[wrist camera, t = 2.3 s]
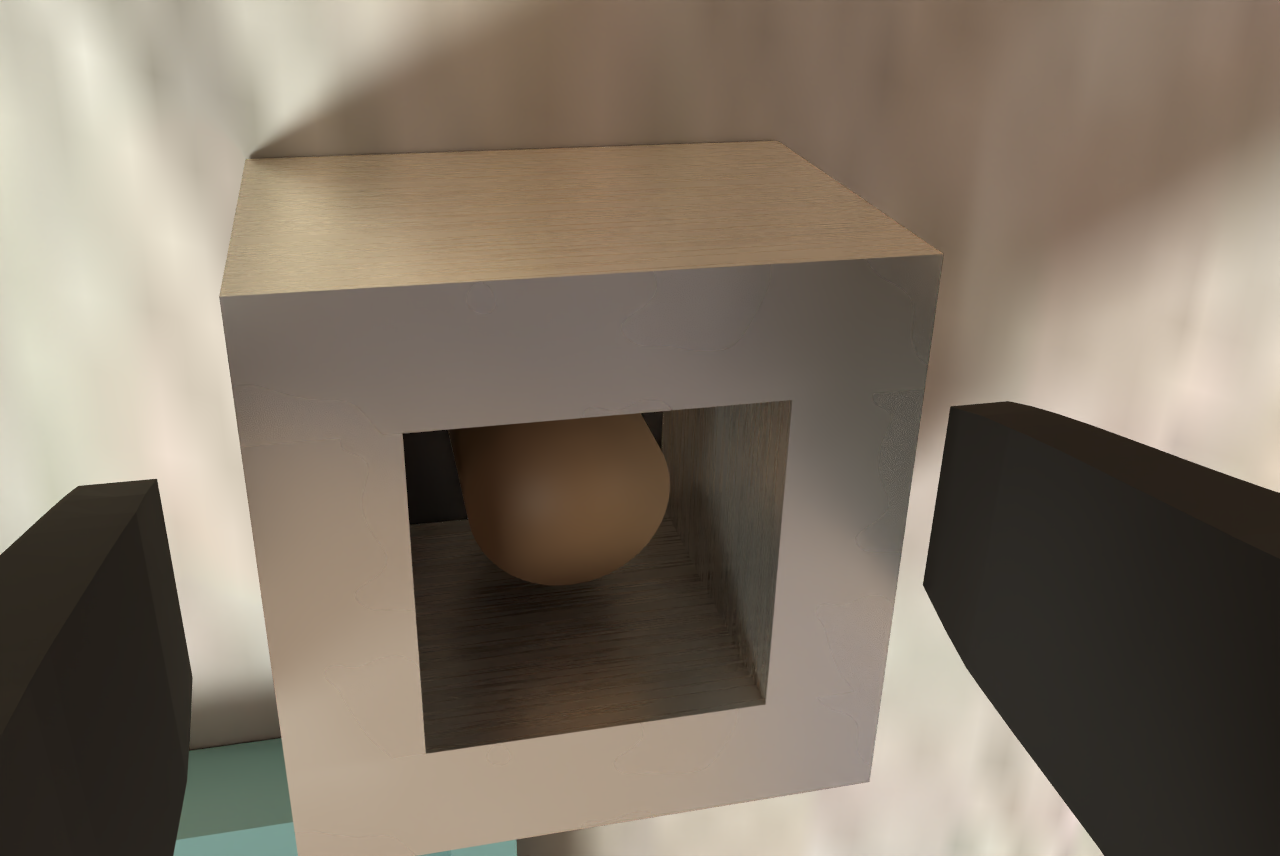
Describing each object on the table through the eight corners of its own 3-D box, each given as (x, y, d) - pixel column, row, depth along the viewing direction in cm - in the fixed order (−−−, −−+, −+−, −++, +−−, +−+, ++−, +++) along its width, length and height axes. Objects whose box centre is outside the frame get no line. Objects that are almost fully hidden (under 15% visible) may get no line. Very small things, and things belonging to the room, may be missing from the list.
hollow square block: (777, 140, 13) (943, 254, 10) (745, 570, 16) (868, 782, 12) (245, 159, 12) (220, 296, 9) (302, 622, 14) (300, 875, 11)
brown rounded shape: (615, 305, 14) (673, 396, 11) (613, 461, 15) (666, 574, 12) (437, 316, 13) (462, 413, 11) (446, 476, 14) (471, 596, 12)
